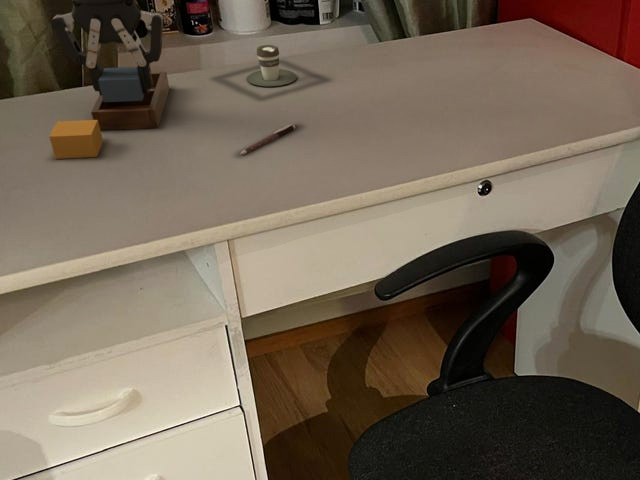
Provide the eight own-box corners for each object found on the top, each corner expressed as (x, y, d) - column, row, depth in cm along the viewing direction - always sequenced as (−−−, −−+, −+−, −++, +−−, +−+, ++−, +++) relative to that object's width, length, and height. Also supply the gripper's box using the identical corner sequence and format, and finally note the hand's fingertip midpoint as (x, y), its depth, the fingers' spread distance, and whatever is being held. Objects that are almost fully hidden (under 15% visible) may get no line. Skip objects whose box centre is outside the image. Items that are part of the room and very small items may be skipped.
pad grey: (103, 102, 116) (98, 80, 114) (109, 89, 120) (104, 67, 118) (142, 100, 117) (137, 78, 115) (146, 87, 121) (142, 66, 119)
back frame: (95, 130, 117) (91, 112, 115) (113, 90, 129) (109, 73, 127) (158, 127, 118) (154, 109, 116) (169, 88, 130) (166, 71, 128)
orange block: (55, 159, 109) (48, 136, 107) (63, 143, 113) (57, 121, 111) (97, 157, 110) (91, 134, 108) (103, 141, 114) (97, 119, 112)
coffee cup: (280, 61, 141) (276, 30, 138) (325, 80, 134) (323, 48, 131) (216, 78, 134) (210, 45, 131) (260, 99, 127) (256, 65, 124)
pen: (294, 127, 120) (293, 120, 119) (298, 129, 119) (298, 122, 119) (238, 156, 112) (237, 149, 111) (242, 157, 111) (241, 150, 111)
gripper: (157, -49, 112) (181, 81, 122) (40, -48, 110) (74, 85, 120) (151, -35, 106) (176, 100, 116) (26, -33, 104) (64, 104, 114)
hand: (124, 92), depth 118 cm, fingers closed on pad grey, 5 cm apart
